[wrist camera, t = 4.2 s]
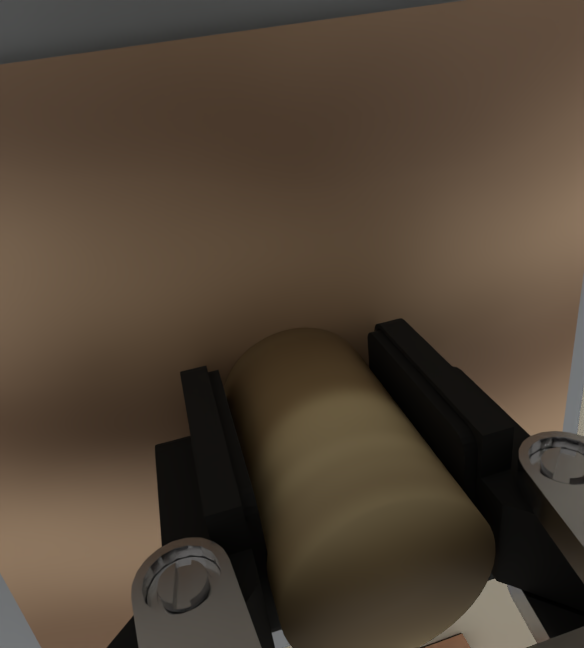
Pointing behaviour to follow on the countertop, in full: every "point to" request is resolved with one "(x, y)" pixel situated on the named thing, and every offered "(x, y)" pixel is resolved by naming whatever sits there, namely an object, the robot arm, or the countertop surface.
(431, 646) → the terracotta open box
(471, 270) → the walnut lid
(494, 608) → the countertop surface
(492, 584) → the countertop surface
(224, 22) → the rubber mat
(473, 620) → the countertop surface
